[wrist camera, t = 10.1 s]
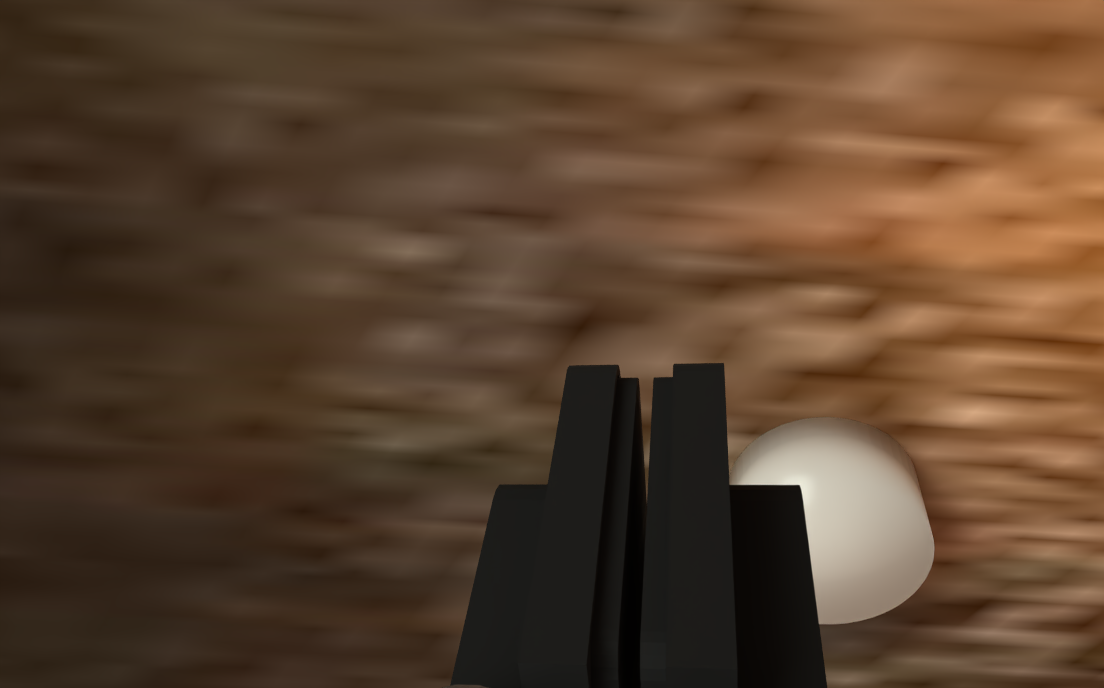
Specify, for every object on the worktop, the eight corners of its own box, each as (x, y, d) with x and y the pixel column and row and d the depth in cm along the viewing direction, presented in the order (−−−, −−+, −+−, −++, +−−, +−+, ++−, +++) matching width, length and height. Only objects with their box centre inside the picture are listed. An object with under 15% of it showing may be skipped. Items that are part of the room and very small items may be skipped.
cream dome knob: (731, 412, 44) (733, 473, 40) (929, 418, 43) (949, 481, 39) (723, 552, 48) (725, 618, 45) (904, 561, 47) (919, 629, 44)
